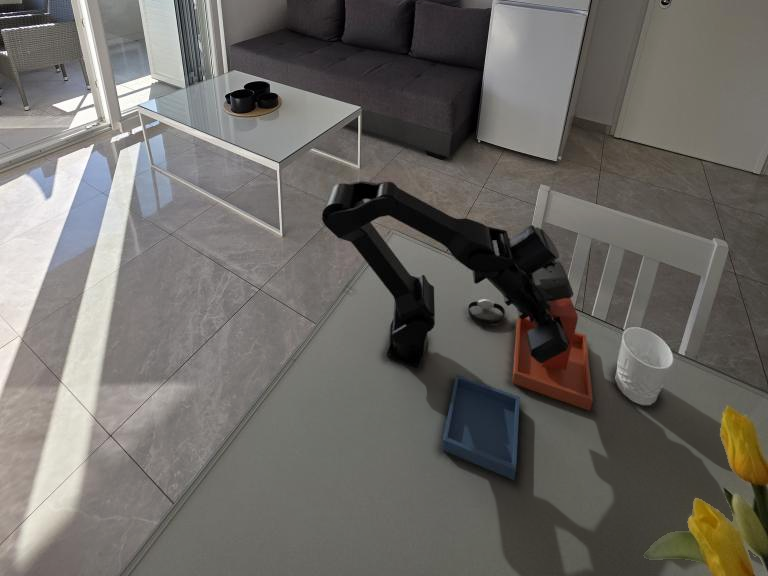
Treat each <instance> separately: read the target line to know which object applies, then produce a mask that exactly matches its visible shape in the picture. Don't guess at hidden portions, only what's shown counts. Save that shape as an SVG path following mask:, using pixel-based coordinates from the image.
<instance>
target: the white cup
mask: <svg viewBox="0 0 768 576" xmlns="http://www.w3.org/2000/svg"><path fill="white" fill-rule="evenodd" d="M673 364H674V353H673V352H672V350H671V348H670V347H669V345H668V344H667V342H665V340H664V339H662V338H661V337H660V336H658V335H657V334H656V333H654V332H652V331H650V330H649V329H646V328H642V327H638V326H632V327H628V328H626V329H624V331H623V332H622V337H621V341H620V346H619V351H618V356H617V362H616V366H617V367H616V372H615V376H614V378H615V382H616V385H617V387H618V389H619V390H620V392H621V393H622V394H623V395H624V396H625V397H626V398H628V399H629V400H630V401H631V402H633V403H635V404H637V405H640V406H652V405H653V404H654V403H655V402H657V400H658V396H659V394H660V392H661V391H662V389H663V388H664V385H665V382H666V380H667V378H668V375H669V373H670V370H671V368H672V366H673Z"/></svg>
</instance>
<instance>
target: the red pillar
mask: <svg viewBox="0 0 768 576" xmlns="http://www.w3.org/2000/svg"><path fill="white" fill-rule="evenodd" d="M549 303H550V306H551V307H549V308H547V309H546V310H547V313H548V314H551V315H552V317H553V319H555V318H556V317H558V316H559V317H560V320H561V323H562V326H563V331H564V333H565V336H566V338H567V339H568V341H569V343H570V344H569V346H568V348H567V350H566V351H564V352H562V353H560V354H558V355H557V356H555V357H553V358H551V359H549V360H547V361H545V362H543V363H541V366H542V367H545V368H554V369H563V370H566V368H567V363H568V359H569V355H570V350H571V346H572V342H573V338H574V333H575V332H576V330H577V323H578V320H579V316H578V313H577V310H576V308H575V306H574V303H573V301H572V297H571V298H564V299H559V300H555V301H549Z"/></svg>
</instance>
